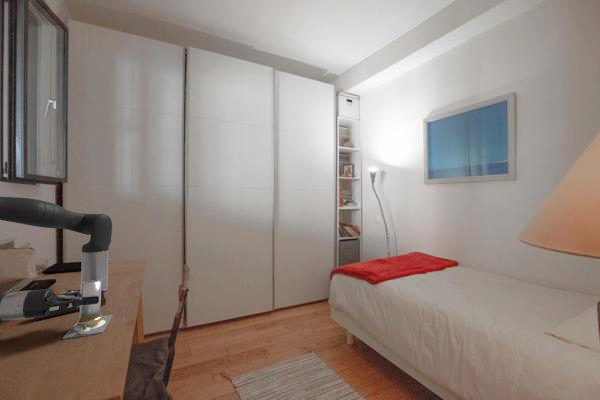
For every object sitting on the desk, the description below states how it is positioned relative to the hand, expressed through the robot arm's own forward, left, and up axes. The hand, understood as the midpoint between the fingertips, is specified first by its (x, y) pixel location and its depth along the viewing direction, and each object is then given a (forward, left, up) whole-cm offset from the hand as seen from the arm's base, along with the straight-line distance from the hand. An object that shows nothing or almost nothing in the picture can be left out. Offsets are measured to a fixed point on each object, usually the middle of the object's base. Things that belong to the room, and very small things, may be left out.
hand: (101, 296), depth 82 cm
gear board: (0, -3, -9) cm, 9 cm away
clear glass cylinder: (0, -3, -7) cm, 8 cm away
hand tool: (-17, -12, -9) cm, 22 cm away
